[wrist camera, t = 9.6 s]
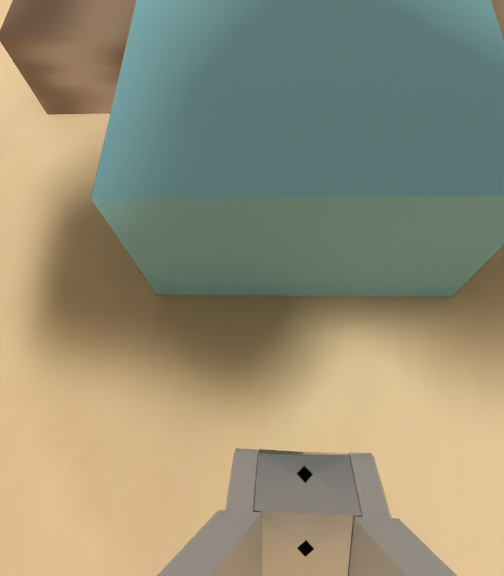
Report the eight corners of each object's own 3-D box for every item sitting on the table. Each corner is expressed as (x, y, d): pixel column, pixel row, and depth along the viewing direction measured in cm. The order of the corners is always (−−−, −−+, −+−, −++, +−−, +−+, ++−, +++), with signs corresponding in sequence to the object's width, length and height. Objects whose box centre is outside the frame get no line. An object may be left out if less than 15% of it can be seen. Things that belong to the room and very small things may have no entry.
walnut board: (541, 66, 25) (601, -25, 20) (554, 103, 24) (621, 14, 19) (58, 79, 27) (13, -1, 22) (47, 114, 26) (-3, 36, 21)
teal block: (416, 109, 24) (476, -46, 17) (449, 298, 19) (553, 194, 12) (182, 115, 25) (143, -30, 18) (158, 296, 20) (90, 199, 13)
